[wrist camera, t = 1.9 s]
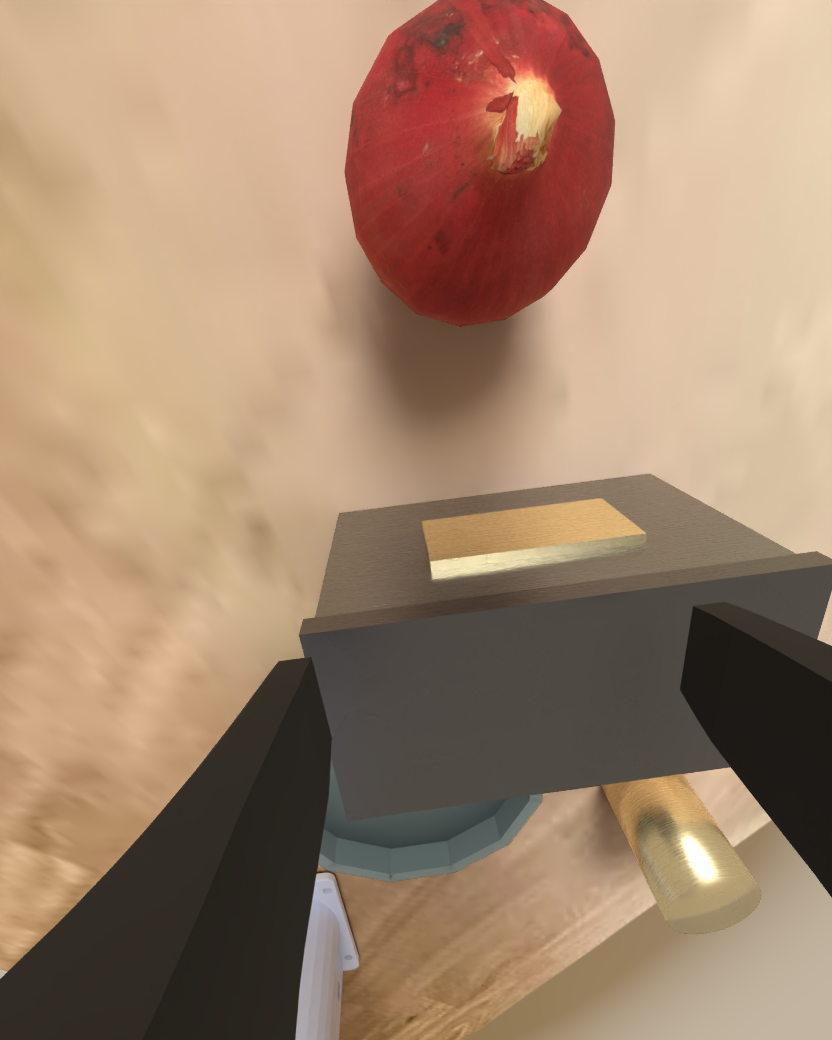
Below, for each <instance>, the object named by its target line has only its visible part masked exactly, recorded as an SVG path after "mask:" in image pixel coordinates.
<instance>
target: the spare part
mask: <svg viewBox="0 0 832 1040" xmlns="http://www.w3.org/2000/svg"><path fill="white" fill-rule="evenodd" d="M602 788H603V790H604V792H605V795H606V797H607V799H608V801H609V803H610V805H611V807H612V809H613V811H614V813H615V815H616V818H617V820H618V822H619V824H620V826H621V828H622V830H623V832H624V834H625V836H626V839H627V841H628V843H629V845H630V847H631V849H632V851H633V853H634V855H635V857H636V860H637V862H638V864H639V866H640V868H641V870H642V872H643V874H644V876H645V878H646V880H647V883H648V885H649V887H650V889H651V891H652V893H653V895H654V897H655V899H656V901H657V904H658V906H659V908H660V910H661V912H662V914H663V916H664V918H665V920H666V922H667V924H668V925H669V927H671V928H672V929H673V930H675V931H678V932H681V933H685V934H705V933H711V932H715V931H719V930H722V929H725V928H727V927H730V926H732V925H734V924H736V923H738V922H740V921H741V920H743V919H744V918H746V917H747V916H748V915H750V914H751V913H752V912H753V911H754V910H755V908H756V907H757V906H758V904H759V902H760V900H761V890H760V888H759V886H758V884H757V883H756V881H755V880H754V878H753V877H752V876H751V874H750V873H749V871H748V870H747V868H746V867H745V865H744V864H743V862H742V861H741V859H740V858H739V856H738V855H737V853H736V852H735V851H734V849H733V847H732V846H731V844H730V843H729V841H728V840H727V838H726V837H725V835H724V834H723V832H722V831H721V829H720V828H719V826H718V825H717V823H716V822H715V820H714V819H713V817H712V816H711V815H710V813H709V812H708V810H707V809H706V807H705V806H704V804H703V803H702V801H701V800H700V798H699V797H698V795H697V794H696V792H695V791H694V789H693V788H692V786H691V785H690V783H689V782H688V780H687V779H686V777H685V776H684V774H678V775H671V776H664V777H657V778H650V779H643V780H636V781H629V782H622V783H615V784H608V785H602Z"/></svg>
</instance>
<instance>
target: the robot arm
mask: <svg viewBox="0 0 832 1040" xmlns="http://www.w3.org/2000/svg"><path fill="white" fill-rule="evenodd" d="M680 691H681V692H682V694H683V696H684V698H685V699H686V701H687V703H688V704H689V706H690V708H691V710H692V711H693V713H694V715H695V716H696V718H697V720H698V721H699V723H700V725H701V726H702V728H703V729H704V731H705V732H706V734H707V736H708V737H709V739H710V740H711V742H712V743H713V744H714V746H715V747H716V748H717V750H718V751H719V752H720V754H721V755H722V756H723V758H724V759H725V760H726V762H727V763H728V764H729V765H730V767H731V768H732V769H733V771H734V772H735V773H736V775H737V776H738V777H739V778H740V780H741V781H742V782H743V784H744V785H745V786H746V787H747V789H748V790H749V791H750V793H751V794H752V795H753V796H754V798H755V799H756V800H757V801H758V803H759V804H760V805H761V807H762V808H763V809H764V810H765V812H766V813H767V814H768V815H769V817H770V818H771V819H772V821H773V822H774V823H775V824H776V826H777V827H778V828H779V829H780V831H781V832H782V833H783V835H784V836H785V837H786V838H787V840H788V841H789V842H790V843H791V845H792V846H793V847H794V848H795V850H796V851H797V852H798V854H799V855H800V856H801V857H802V859H803V860H804V861H805V863H806V864H807V865H808V866H809V868H810V869H811V870H812V871H813V873H814V874H815V875H816V877H817V878H818V879H819V881H820V882H821V884H822V885H823V886H824V887H825V889H826V890H827V891H828V893H829V894H830V896H831V897H832V646H830V645H828V644H826V643H824V642H821V641H819V640H817V639H814V638H812V637H810V636H808V635H805V634H803V633H801V632H798V631H796V630H794V629H791V628H789V627H787V626H784V625H782V624H780V623H778V622H775V621H773V620H770V619H768V618H766V617H763V616H761V615H759V614H756V613H754V612H751V611H749V610H746V609H744V608H741V607H738V606H736V605H733V604H730V603H727V602H719V603H711V604H704V605H696V606H693V609H692V615H691V622H690V628H689V634H688V641H687V647H686V653H685V660H684V666H683V672H682V678H681V685H680ZM331 744H332V736H331V732H330V728H329V724H328V720H327V716H326V712H325V708H324V704H323V700H322V697H321V693H320V689H319V685H318V681H317V677H316V673H315V669H314V665H313V661H312V657H308V658H300V659H293V660H285V661H279V662H278V663H277V664H276V665H275V667H274V668H273V669H272V671H271V672H270V673H269V674H268V676H267V677H266V678H265V680H264V681H263V683H262V684H261V685H260V687H259V688H258V689H257V691H256V692H255V693H254V695H253V696H252V698H251V699H250V700H249V702H248V703H247V704H246V706H245V707H244V708H243V710H242V711H241V712H240V714H239V715H238V716H237V718H236V719H235V720H234V722H233V723H232V724H231V726H230V727H229V728H228V730H227V731H226V732H225V734H224V735H223V736H222V737H221V739H220V740H219V741H218V743H217V744H216V745H215V746H214V748H213V749H212V750H211V752H210V753H209V754H208V755H207V757H206V758H205V759H204V761H203V762H202V763H201V764H200V766H199V767H198V768H197V769H196V771H195V772H194V773H193V774H192V776H191V777H190V778H189V779H188V780H187V782H186V783H185V784H184V785H183V786H182V788H181V789H180V790H179V791H178V792H177V793H176V795H175V796H174V797H173V798H172V799H171V801H170V802H169V803H168V804H167V805H166V807H165V808H164V809H163V810H162V811H161V813H160V814H159V815H158V816H157V817H156V818H155V820H154V821H153V822H152V823H151V824H150V825H149V827H148V828H147V829H146V830H145V831H144V832H143V833H142V835H141V836H140V837H139V838H138V839H137V840H136V841H135V842H134V844H133V845H132V846H131V847H130V848H129V849H128V850H127V851H126V852H125V854H124V855H123V856H122V857H121V858H120V859H119V860H118V861H117V862H116V863H115V864H114V866H113V867H112V868H111V869H110V870H109V871H108V872H107V873H106V874H105V875H104V876H103V877H102V878H101V879H100V880H99V881H98V882H97V884H96V885H95V886H94V887H93V888H92V889H91V890H90V891H89V892H88V893H87V894H86V895H85V896H84V897H83V898H82V899H81V900H80V901H79V902H78V903H77V905H76V906H75V907H74V908H73V909H72V910H71V911H70V912H69V913H68V914H67V915H66V916H65V917H64V918H63V919H62V920H61V921H60V922H59V923H58V924H57V925H56V926H55V927H54V928H53V929H52V930H51V931H50V932H48V933H47V934H46V935H45V936H44V937H43V938H42V939H41V940H40V941H39V942H38V943H37V944H36V945H35V946H34V947H33V948H32V949H31V950H30V951H29V952H28V953H27V954H26V955H25V956H24V957H23V958H22V959H21V960H19V961H18V962H17V963H16V964H15V965H14V966H13V967H12V968H11V969H10V970H9V971H8V972H7V973H6V974H5V975H4V976H3V977H2V978H1V979H0V1040H339V1032H340V1015H341V999H342V982H343V971H348V970H353V969H356V968H357V967H358V966H359V955H358V952H357V949H356V945H355V942H354V939H353V935H352V932H351V929H350V925H349V922H348V919H347V915H346V912H345V909H344V905H343V902H342V899H341V895H340V892H339V889H338V885H337V882H336V879H335V876H334V875H333V874H331V873H318V874H317V868H318V862H319V856H320V849H321V843H322V837H323V830H324V824H325V817H326V811H327V804H328V797H329V785H330V768H331Z"/></svg>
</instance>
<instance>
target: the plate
mask: <svg viewBox="0 0 832 1040" xmlns="http://www.w3.org/2000/svg"><path fill="white" fill-rule="evenodd" d="M541 802H542V794H537V795H530V796H523V797H516V798H509V799H502V800H494V801H487V802H480V803H473V804H466V805H459V806H452V807H445V808H438V809H431V810H424V811H417V812H410V813H403V814H395V815H388V816H381V817H374V818H367V819H360V820H353V821H347V818H346V814H345V810H344V806H343V802H342V799H341V795H340V791H339V787H338V783H337V779H336V775H335V772H334V768H333V764H332V760H331V768H330V785H329V797H328V804H327V811H326V817H325V824H324V830H323V837H322V843H321V849H320V856H319V862H318V864H319V865H320V866H322V867H323V868H325V869H326V870H328V871H334V872H339V873H344V874H350V875H355V876H360V877H365V878H371V879H376V880H381V881H387V882H389V881H390V882H394V881H401V880H408V879H414V878H421V877H428V876H435V875H442V874H449V873H454V872H457V871H459V870H461V869H463V868H465V867H466V866H468V865H470V864H472V863H474V862H476V861H478V860H480V859H482V858H484V857H486V856H488V855H490V854H492V853H493V852H495V851H497V850H499V849H501V848H503V847H505V846H507V845H509V844H510V843H511V841H512V840H513V839H514V837H515V836H516V835H517V834H518V832H519V831H520V830H521V828H522V827H523V826H524V824H525V823H526V822H527V820H528V819H529V818H530V817H531V815H532V814H533V813H534V811H535V810H536V809H537V807H538V806H539V805H540V803H541Z"/></svg>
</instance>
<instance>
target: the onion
mask: <svg viewBox="0 0 832 1040" xmlns="http://www.w3.org/2000/svg"><path fill="white" fill-rule="evenodd" d="M614 132H615V119H614V114H613V110H612V107H611V103H610V99H609V95H608V92H607V88H606V84H605V80H604V76H603V73H602V69H601V65H600V61H599V59H598V57H597V56H596V54H595V53H594V52H593V50H592V49H591V47H590V46H589V44H588V43H587V42H586V40H585V39H584V37H583V36H582V34H581V33H580V32H579V30H578V29H577V27H576V26H575V24H574V23H573V21H572V20H571V19H570V17H569V16H568V14H566V13H564V12H563V11H561V10H559V9H557V8H556V7H554V6H552V5H550V4H549V3H547V2H545V1H544V0H438V1H436V2H435V3H434V4H432V5H431V6H429V7H428V8H426V9H425V10H423V11H422V12H421V13H419V14H418V15H416V16H415V17H413V18H412V19H410V20H409V21H407V22H406V23H405V24H403V25H402V26H400V27H399V28H397V29H396V30H395V31H394V32H392V33H391V34H390V35H389V36H388V37H387V39H386V41H385V43H384V45H383V47H382V49H381V51H380V53H379V55H378V57H377V58H376V60H375V62H374V64H373V66H372V68H371V70H370V72H369V74H368V76H367V77H366V79H365V81H364V83H363V85H362V87H361V89H360V91H359V93H358V95H357V97H356V98H355V100H354V102H353V108H352V116H351V124H350V132H349V140H348V149H347V157H346V165H345V178H346V184H347V190H348V195H349V201H350V206H351V211H352V217H353V222H354V228H355V233H356V238H357V240H358V241H359V243H360V245H361V247H362V249H363V250H364V252H365V254H366V256H367V257H368V259H369V261H370V263H371V265H372V266H373V268H374V270H375V272H376V273H377V275H378V277H379V279H380V281H381V282H382V283H383V284H384V285H385V286H386V287H387V288H388V289H390V290H391V291H392V292H393V293H394V294H395V295H396V296H398V297H399V298H400V299H401V300H402V301H403V302H404V303H405V304H407V305H408V306H409V307H410V308H411V309H412V310H413V311H415V312H416V313H417V314H419V315H423V316H426V317H430V318H433V319H436V320H440V321H443V322H446V323H450V324H453V325H457V326H460V327H461V326H468V325H474V324H480V323H487V322H493V321H499V320H505V319H506V318H508V317H510V316H511V315H513V314H515V313H516V312H518V311H520V310H521V309H523V308H525V307H526V306H528V305H530V304H532V303H533V302H535V301H537V300H538V299H540V298H542V297H543V296H545V295H546V294H547V293H548V292H549V291H550V290H551V289H553V287H554V286H555V285H556V284H557V283H558V281H559V280H560V279H561V278H562V277H563V276H564V274H565V273H566V272H567V271H568V270H569V268H570V267H571V266H572V265H573V264H574V263H575V261H576V260H577V259H578V258H579V257H580V255H581V254H582V253H583V252H584V251H585V250H586V248H587V245H588V243H589V240H590V238H591V235H592V233H593V230H594V228H595V225H596V223H597V220H598V218H599V215H600V212H601V210H602V207H603V205H604V202H605V200H606V197H607V195H608V192H609V190H610V187H611V184H612V167H613V149H614Z"/></svg>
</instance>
